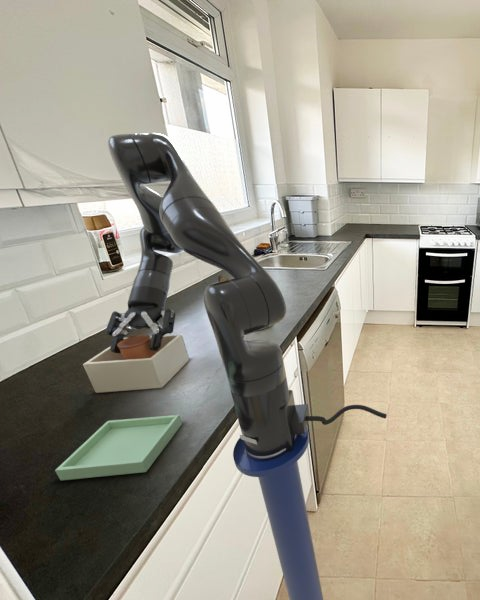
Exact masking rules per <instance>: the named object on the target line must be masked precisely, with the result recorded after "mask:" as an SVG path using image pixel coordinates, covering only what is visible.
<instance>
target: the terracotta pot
mask: <svg viewBox="0 0 480 600" xmlns="http://www.w3.org/2000/svg"><path fill="white" fill-rule="evenodd" d="M150 336H151V335H149V334H136V335H132V336H129V337H125V338H126V339H124V340H122V341H120V342H119V343H118V344H117V346H118V348H119V349H120V351H121V354H122V356H123V359H124V360H129V359H144V358H151V357H152V356H154V355H155V351H153V350H150V349H149V346H150V342H151V337H150Z"/></svg>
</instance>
